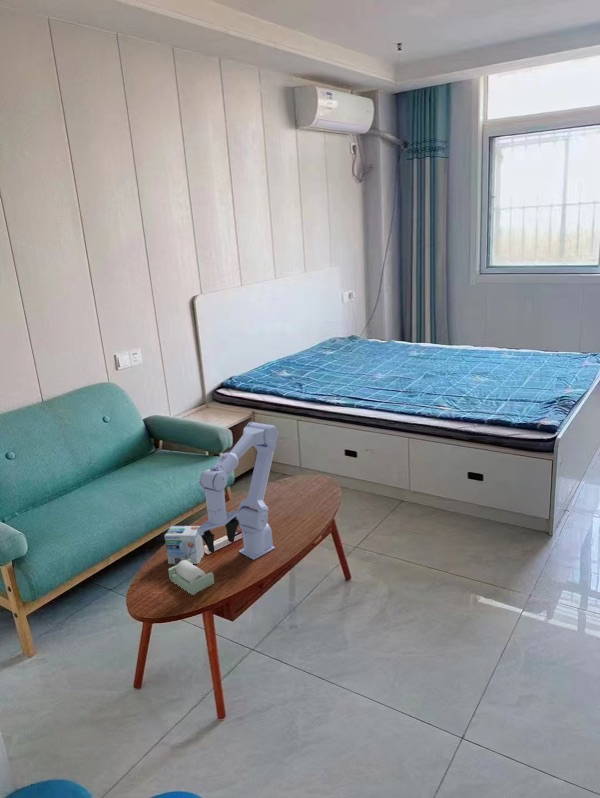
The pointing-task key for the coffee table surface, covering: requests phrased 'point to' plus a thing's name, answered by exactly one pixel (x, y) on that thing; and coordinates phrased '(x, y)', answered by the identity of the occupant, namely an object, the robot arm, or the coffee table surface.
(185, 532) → the light bulb box
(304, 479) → the coffee table surface
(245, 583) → the coffee table surface
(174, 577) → the holder
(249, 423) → the robot arm
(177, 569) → the roll
